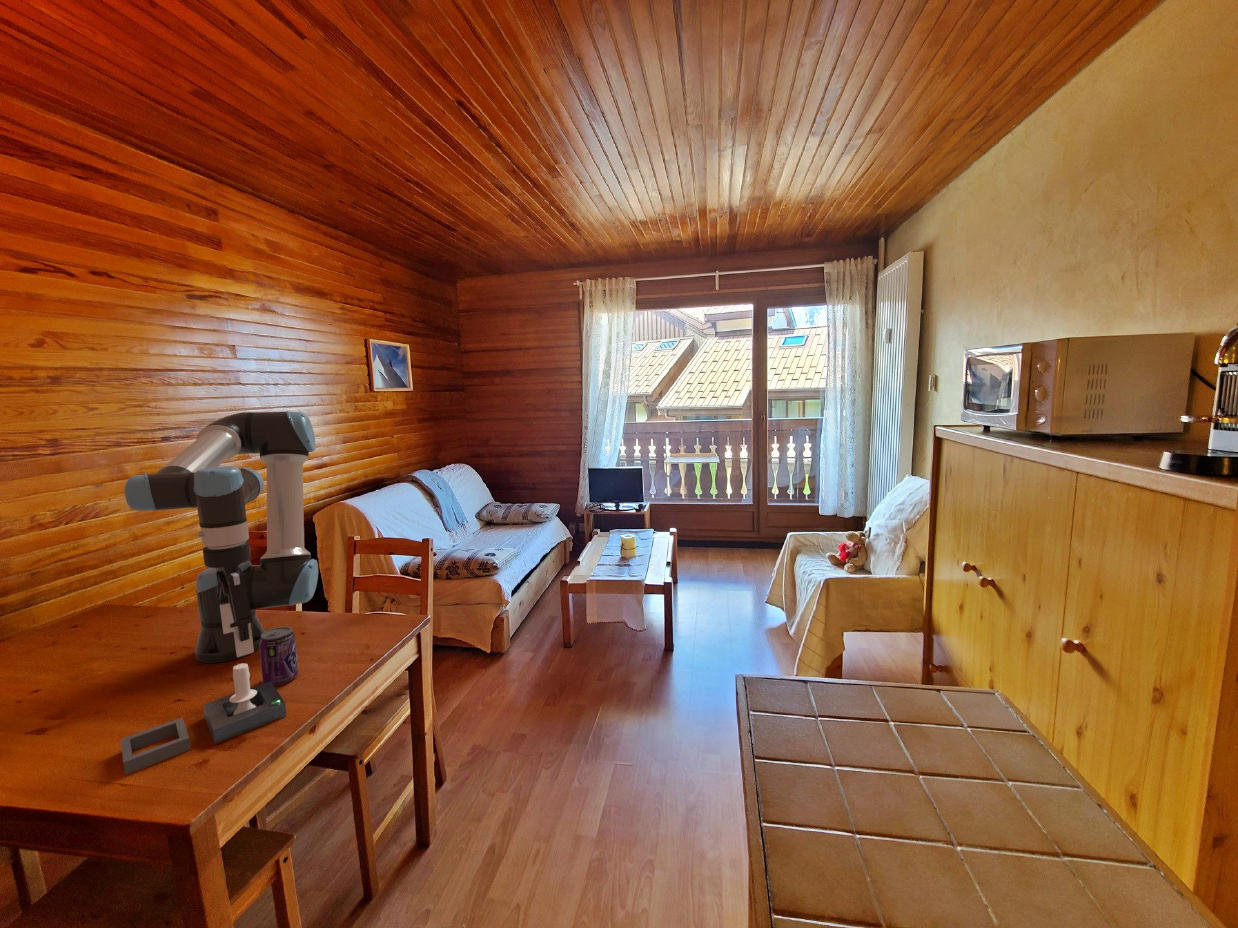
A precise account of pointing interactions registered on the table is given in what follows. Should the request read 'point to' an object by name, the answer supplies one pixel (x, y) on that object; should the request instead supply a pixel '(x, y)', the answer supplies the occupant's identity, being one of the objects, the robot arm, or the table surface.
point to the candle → (242, 689)
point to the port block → (243, 713)
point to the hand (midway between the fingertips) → (238, 642)
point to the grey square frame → (157, 752)
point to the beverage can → (278, 655)
